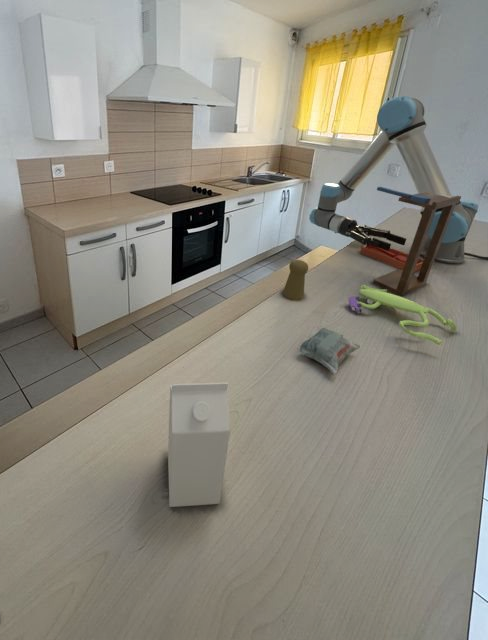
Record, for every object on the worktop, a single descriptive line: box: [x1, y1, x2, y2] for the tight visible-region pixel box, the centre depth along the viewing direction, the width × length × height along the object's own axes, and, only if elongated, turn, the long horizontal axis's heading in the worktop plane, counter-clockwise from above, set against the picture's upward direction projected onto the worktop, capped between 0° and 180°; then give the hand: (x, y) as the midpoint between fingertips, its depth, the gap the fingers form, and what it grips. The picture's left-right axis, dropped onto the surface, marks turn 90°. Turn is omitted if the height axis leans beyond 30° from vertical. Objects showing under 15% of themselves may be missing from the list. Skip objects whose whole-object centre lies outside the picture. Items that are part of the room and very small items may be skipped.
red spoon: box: [370, 244, 407, 263], centre depth 123 cm, size 15×4×1 cm, turn 33°
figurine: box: [347, 284, 457, 346], centre depth 87 cm, size 18×27×6 cm
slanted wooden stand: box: [372, 192, 462, 298], centre depth 100 cm, size 10×16×30 cm, turn 123°
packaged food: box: [299, 327, 361, 376], centre depth 72 cm, size 9×12×5 cm
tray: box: [359, 245, 424, 273], centre depth 123 cm, size 19×10×3 cm, turn 33°
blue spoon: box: [376, 186, 431, 203], centre depth 95 cm, size 15×4×1 cm, turn 25°
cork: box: [282, 259, 309, 301], centre depth 95 cm, size 6×6×11 cm
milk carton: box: [167, 382, 231, 508], centre depth 44 cm, size 7×7×19 cm
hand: (397, 244), depth 120 cm, fingers open, 10 cm apart
